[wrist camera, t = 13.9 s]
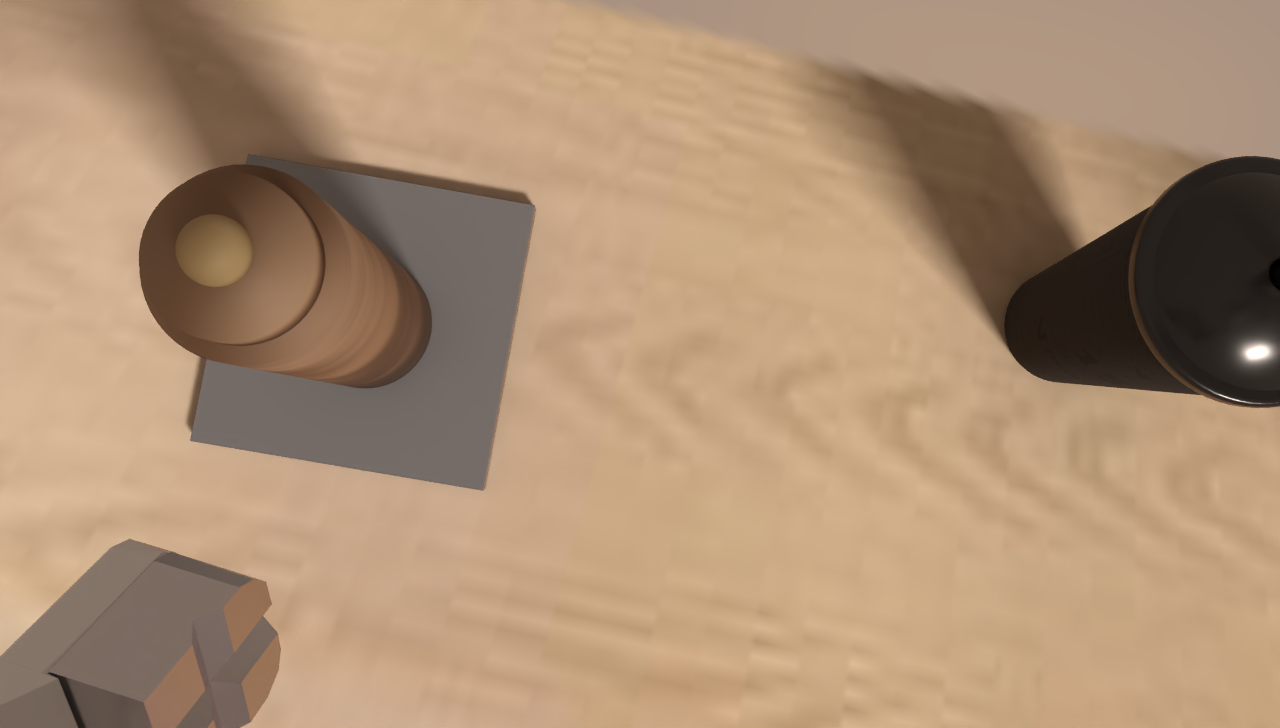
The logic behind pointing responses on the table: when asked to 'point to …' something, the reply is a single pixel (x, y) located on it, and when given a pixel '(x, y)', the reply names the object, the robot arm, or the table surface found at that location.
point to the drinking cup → (1168, 295)
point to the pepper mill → (279, 282)
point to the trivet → (445, 375)
